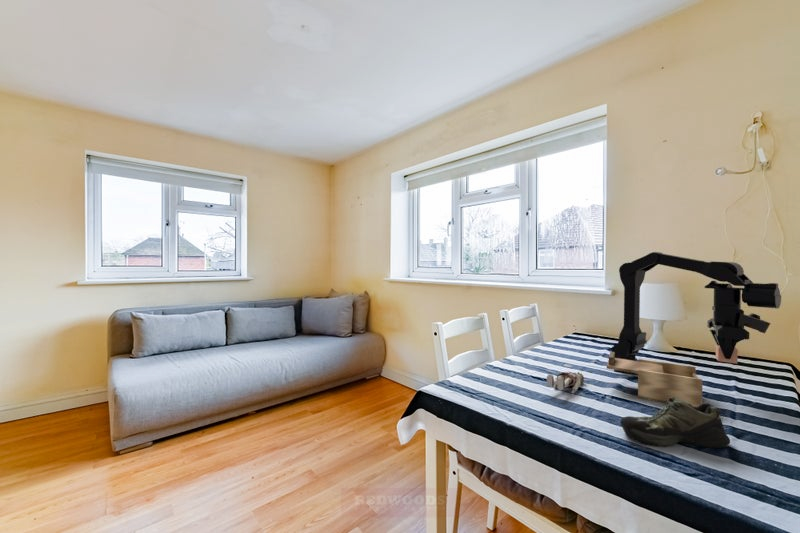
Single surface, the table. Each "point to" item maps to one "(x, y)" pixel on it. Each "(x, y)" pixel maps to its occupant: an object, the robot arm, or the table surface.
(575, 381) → the figurine
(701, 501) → the table surface
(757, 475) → the table surface
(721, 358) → the block
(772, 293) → the robot arm
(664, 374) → the box
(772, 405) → the table surface
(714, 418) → the hiking shoe
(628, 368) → the lid
